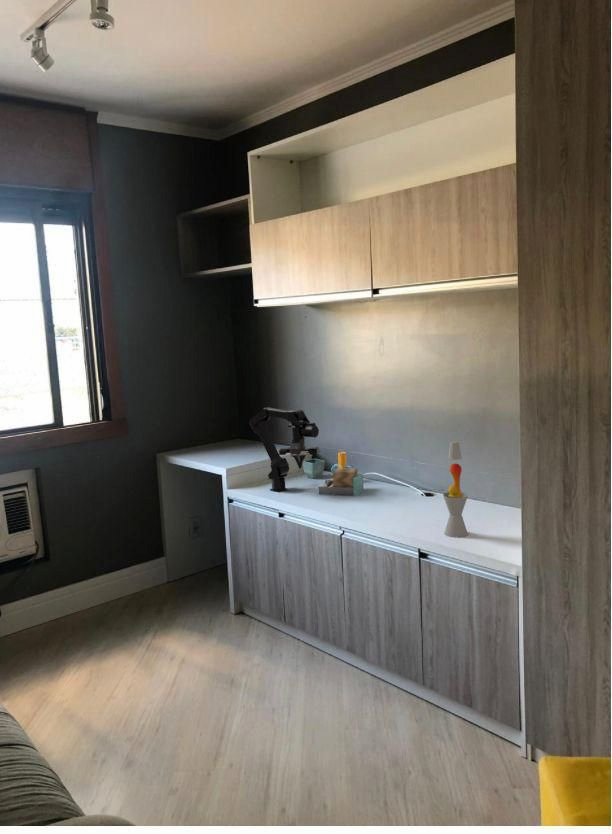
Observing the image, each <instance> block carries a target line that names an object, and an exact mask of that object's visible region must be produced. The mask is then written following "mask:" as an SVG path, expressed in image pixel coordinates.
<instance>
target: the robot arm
mask: <svg viewBox="0 0 612 834" xmlns="http://www.w3.org/2000/svg"><path fill="white" fill-rule="evenodd" d="M271 417H272V418H276V419H283V420H285V421H287V422H289V424H288V425H287V427H288V428H291V437H292V438H291V444H290V446H289V447H284V446H283V447H280V448H279V450H277V449H278V448H277V447H276V445H275V443H274V441H273V438H272V437H271V435H270V432H269V431H268V430H269V425H268V421H269V420H270V419H271ZM248 423H249V426H250V428H251V429H252V431H253V432H254V433H255V434H257V435H258V437H259V439H260V441H261V443H262V445H263V447H264V449H265V452H266V454H267V455H268V457H269V459H270V468H271V470H270V472H269V473H268V475H267V477H268V480H271V488H270V489H269V491H272V492H277V493H279V492H283V491H287V490H288V488H287V487H286V481H285V479H286V478H287V476H288V473H289V471H290V466H289V465H290V464H289V462H288V460H287V459H286V458H287V457H281V456H284V455H285V456H286V454H290V457H292V458H293V459H294V460H295V462H296V465H297V466H298V469H300V470H301V469H303V461H305V458H306V456H308V455H312V456H313V455H314V456H315V455H316V456H317V455H318V454H319V453H320V447H319V446H311V447H309V448H306V444H305V442H306V441H305V440H306V438H317V437H318V435H319V431H320V430H319V428H318V426H317V424H316V423H315V422H311V421H310V420H309V418H308V417H307V416H306V414H305V411H304V410H302V409H294V410H293V409H292V410H287V409H280V408H274V407H271V406H270V407H269V406H268V407H264V408H262V409H261V410H260V411H259V412H258V413H257V414H255V415H254V416H253V417H251V418H250V419H249V422H248ZM285 477H286V478H285Z"/></svg>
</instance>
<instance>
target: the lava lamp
mask: <svg viewBox="0 0 612 834" xmlns="http://www.w3.org/2000/svg"><path fill="white" fill-rule="evenodd" d="M448 450H449V451H448V457H447V459H449V460H453V461H455V460H462V453H461V447H460V442H459V441H451V442H450V443H449V449H448ZM449 472H450V474H451V476H452V478H453V483H454V484H452V485H449V487H448V492H445V493H443V494H442V496H443V499H444V501H445V502H444V503H445V504H446V507H447V510H448V513H449V515H448V516H449V517H448V519H447V523H446V526H445V530H444V533H443V534H444V535H445V537H446V536H447V537H450V538H464V537H466V536H468V535H469V534H468V530H467V527H466V524H465V521H464V518H463V515H462V514H463V511H464V509H465V506H466V502H467V500H468V497H469V496H468V495H469V494H468V493H466V492H462V491H461V485H460V483H461V473H462V466H461V465H460V464H459V463H457V462H456V463H452V464H451V465H450V466H449Z"/></svg>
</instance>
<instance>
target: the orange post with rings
mask: <svg viewBox="0 0 612 834" xmlns="http://www.w3.org/2000/svg"><path fill="white" fill-rule="evenodd" d="M337 454H338V455H337V459H338V461H337V462H338V463H335V464H334V465H332V467H331V469H330V471H331V473H332V474H333V471H335V470H336V469H337V468H355V467H354V464H352V463H349V464H347V452H346V451H340V452H337Z"/></svg>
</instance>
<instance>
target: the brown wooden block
mask: <svg viewBox="0 0 612 834" xmlns="http://www.w3.org/2000/svg"><path fill="white" fill-rule="evenodd" d="M335 469H336V470H333V473H332V480H333V487H354V486H353V479H354V478H355V476H356V475H357V474H358V468H355V467H354V468H353V467H351V468H349V467H348V468H337V467H336V468H335Z"/></svg>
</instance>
